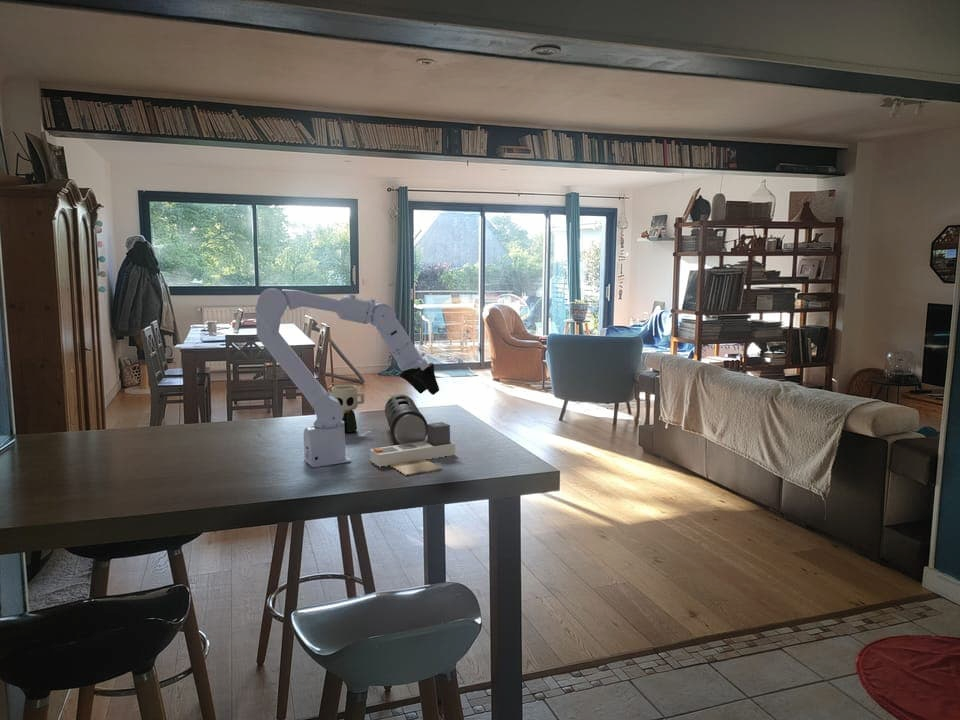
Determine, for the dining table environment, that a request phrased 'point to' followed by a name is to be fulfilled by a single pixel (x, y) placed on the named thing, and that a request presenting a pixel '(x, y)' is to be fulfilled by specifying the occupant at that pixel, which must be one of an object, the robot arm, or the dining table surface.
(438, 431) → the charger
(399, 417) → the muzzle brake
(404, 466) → the coaster
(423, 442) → the socket strip
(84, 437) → the dining table surface
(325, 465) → the robot arm
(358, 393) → the character mug
